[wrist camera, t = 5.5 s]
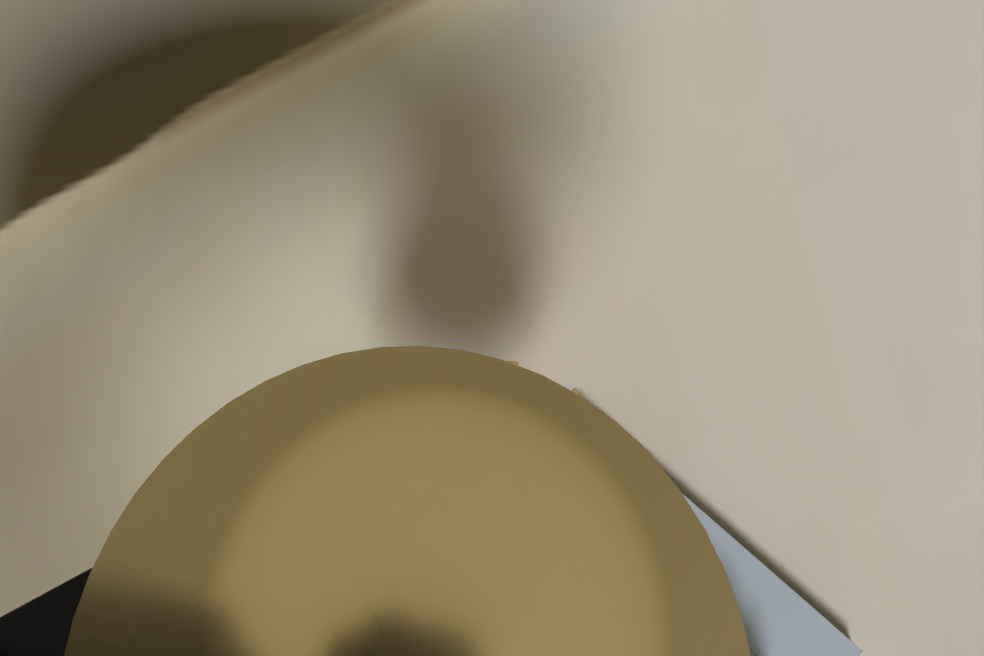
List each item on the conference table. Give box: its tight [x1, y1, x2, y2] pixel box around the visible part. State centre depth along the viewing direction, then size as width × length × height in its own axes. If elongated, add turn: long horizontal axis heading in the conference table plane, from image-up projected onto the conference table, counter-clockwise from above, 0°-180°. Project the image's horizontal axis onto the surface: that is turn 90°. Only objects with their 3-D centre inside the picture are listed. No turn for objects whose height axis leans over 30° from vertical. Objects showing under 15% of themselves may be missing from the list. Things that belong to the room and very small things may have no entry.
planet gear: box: [64, 346, 751, 656], centre depth 9 cm, size 7×7×13 cm
